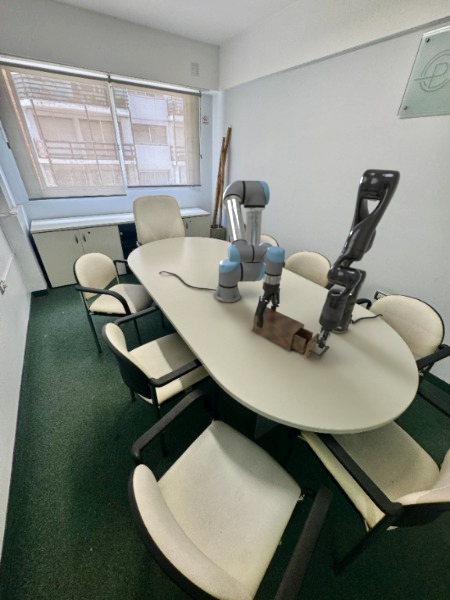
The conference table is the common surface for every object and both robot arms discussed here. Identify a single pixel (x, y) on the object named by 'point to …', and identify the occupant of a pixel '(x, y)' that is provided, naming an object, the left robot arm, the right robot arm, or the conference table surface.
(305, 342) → the drawer
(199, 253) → the conference table surface
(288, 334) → the cabinet
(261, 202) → the left robot arm
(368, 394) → the conference table surface
